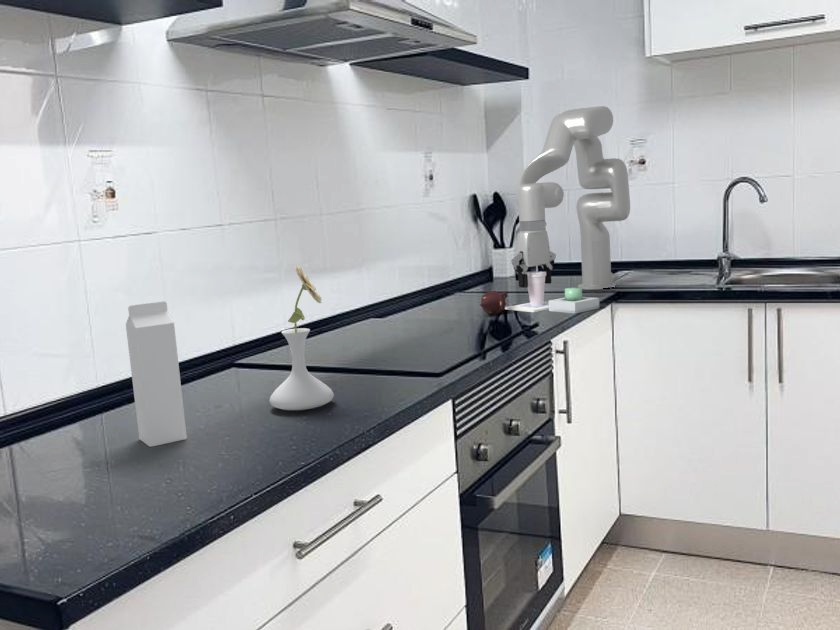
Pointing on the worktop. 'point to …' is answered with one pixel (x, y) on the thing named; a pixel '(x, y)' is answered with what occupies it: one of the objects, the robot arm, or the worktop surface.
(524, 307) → the paper pad
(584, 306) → the grey square block
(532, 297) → the smoothie
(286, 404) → the flower in vase
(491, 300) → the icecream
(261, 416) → the worktop surface
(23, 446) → the worktop surface
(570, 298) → the button
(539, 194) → the robot arm
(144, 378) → the milk
